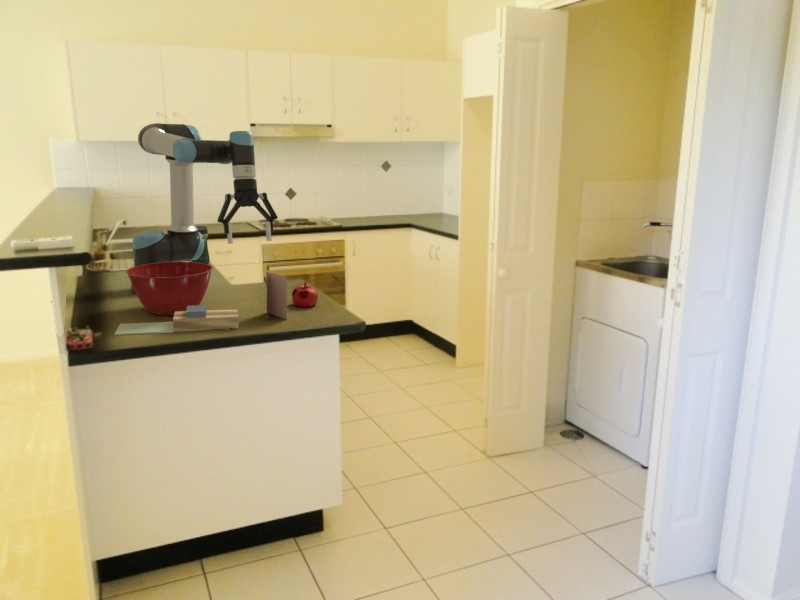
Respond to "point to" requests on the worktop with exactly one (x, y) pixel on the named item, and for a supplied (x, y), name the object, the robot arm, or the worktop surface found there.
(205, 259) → the coffee jar
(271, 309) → the greeting card
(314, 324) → the worktop surface
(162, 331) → the rubber mat
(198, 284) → the mixing bowl
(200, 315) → the blue-grey flat block
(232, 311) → the tan block
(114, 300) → the worktop surface
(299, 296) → the pomegranate
